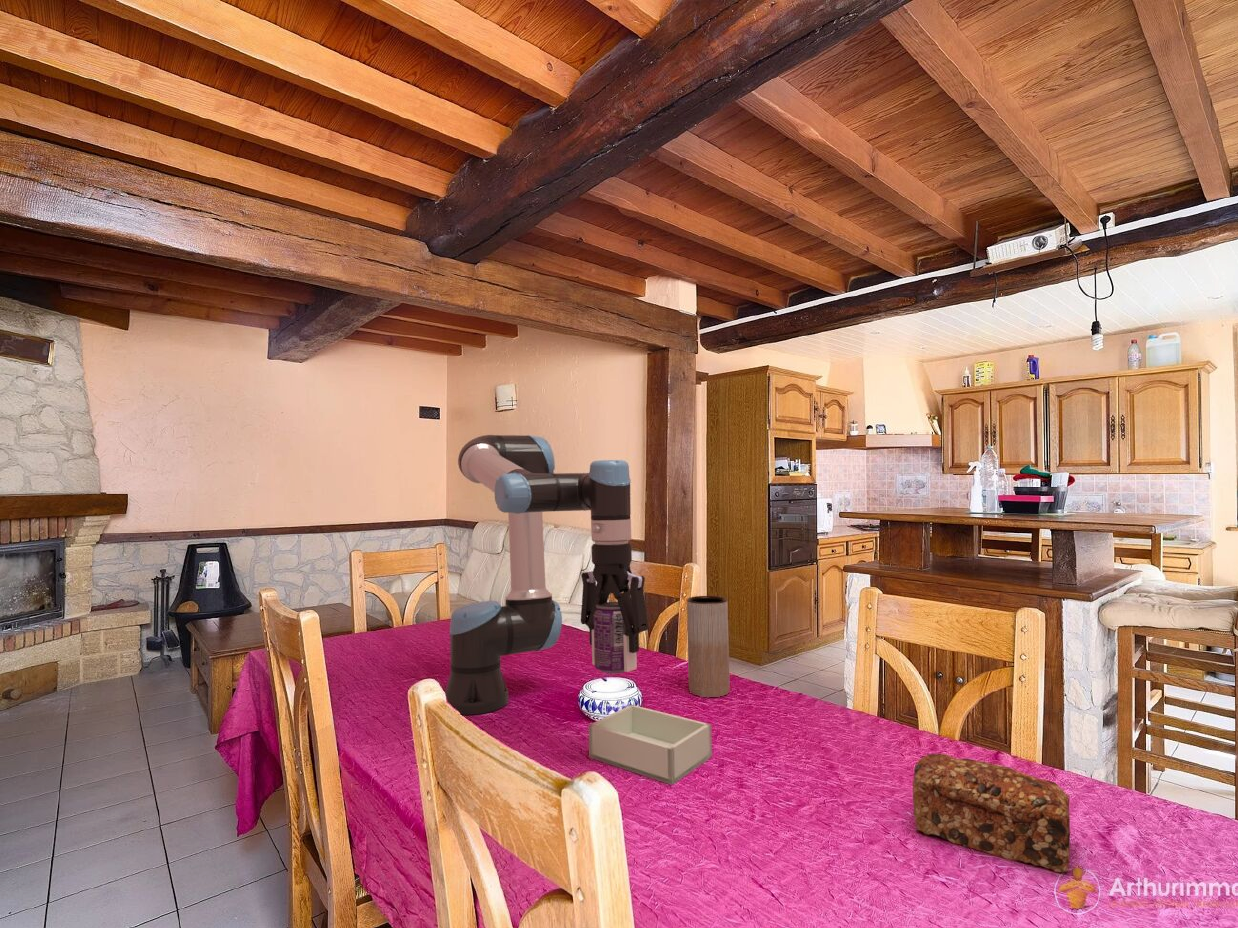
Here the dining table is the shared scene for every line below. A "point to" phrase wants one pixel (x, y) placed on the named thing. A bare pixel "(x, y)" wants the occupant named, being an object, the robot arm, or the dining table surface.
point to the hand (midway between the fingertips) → (614, 666)
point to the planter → (708, 646)
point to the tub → (650, 743)
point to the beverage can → (609, 638)
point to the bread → (993, 810)
